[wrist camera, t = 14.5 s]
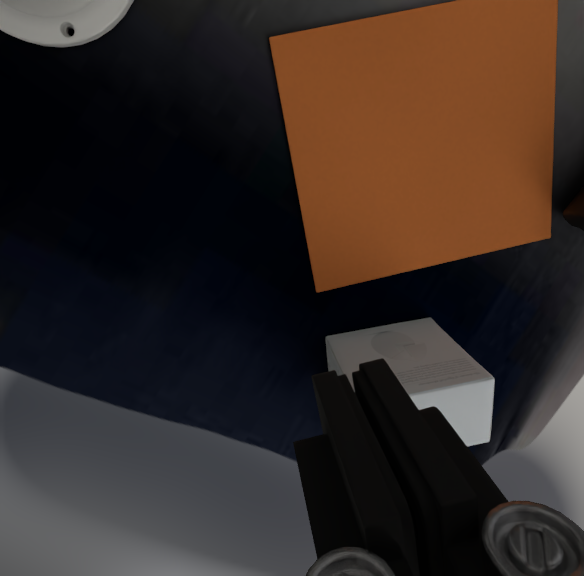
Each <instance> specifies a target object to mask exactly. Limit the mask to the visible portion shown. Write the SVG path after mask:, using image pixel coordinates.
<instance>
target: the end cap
mask: <svg viewBox="0 0 584 576" xmlns="http://www.w3.org/2000/svg"><path fill="white" fill-rule="evenodd" d="M563 217H564V218H565V220H566V221H567V222H568V223H569V224H571V225H572V226H575V227H579V228H581V229H582V230H583V231H584V186H583V187H582V188H581V190H580V191H579V192H578V194H577V195H576V196H575V197H574V199H573V200H572V201H571V202H570V204H569V205H568V206H567V208H566V209H565V210H564V211H563Z"/></svg>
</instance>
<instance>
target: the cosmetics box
mask: <svg viewBox="0 0 584 576" xmlns="http://www.w3.org/2000/svg"><path fill="white" fill-rule="evenodd" d="M325 340H326V350H327V360H328V370H329V371H332V370H335V371H336V373H337V375H338V376H339V375H343V374H346V375H347V377H348V380H349V382H350V384H351V386H352V388H353V390H354V384H353V378H352V372H355V371H359V364H361V363H365V362H369V361H373V360H377V359H381V358H383V359H384V360H385V361H386V362H387V364H388V365H389V367H390V368H391V370H392V371H393V373H394V374H395V376H396V377H397V379H398V380H399V382H400V383H401V385H402V386H403V388H404V389H405V390H406V392H407V393H408V395H409V396H410V398H411V399H412V401H413V402H414V404H415V405H416V407H417V408H418V410H421V409H425V408H429V407H432V406H434V407H437V408H438V409H439V410H440V411H441V413H442V414H443V415H444V417H445V418H446V419H447V421H448V422H449V423H450V425H451V426H452V427H453V429H454V430H455V431H456V433H457V434H458V435H459V437H460V438H461V439H462V441H463V442H464V443H465V445H466V446H471V445H476V444H481V443H486V442H489V441H490V435H491V423H492V410H493V395H494V381H495V380H494V378H493V376H492V375H491V374H490V373H488V372H487V371H486V370H485V369H484V368H483V367H482V366H481V365H480V364H478V363H477V362H476V361H475V360H474V359H473V358H472V357H471V356H470V355H469V354H468V353H467V352H466V351H464V350H463V349H462V348H461V347H460V346H459V345H458V344H457V343H456V342H455V341H454V340H453V339H452V338H451V337H450V336H449V335H448V334H447V333H446V332H444V331H443V330H442V329H441V328H440V327H439V326H438V325H437V324H436V323H435V321H434V320H433V319H432V318H431V317H429V318H424V319H418V320H412V321H406V322H401V323H395V324H390V325H384V326H379V327H373V328H368V329H363V330H357V331H352V332H347V333H341V334H336V335H330V336H326V339H325ZM354 392H355V390H354Z"/></svg>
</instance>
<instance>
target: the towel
mask: <svg viewBox="0 0 584 576" xmlns="http://www.w3.org/2000/svg"><path fill="white" fill-rule="evenodd" d="M557 13H558V0H456V1H451V2H446V3H441V4H436V5H431V6H426V7H421V8H416V9H411V10H406V11H400V12H395V13H390V14H385V15H380V16H375V17H370V18H365V19H360V20H355V21H350V22H345V23H339V24H334V25H329V26H324V27H319V28H314V29H309V30H304V31H299V32H294V33H289V34H284V35H278V36H273V37H269V42H270V47H271V53H272V58H273V64H274V69H275V74H276V80H277V85H278V90H279V96H280V101H281V106H282V112H283V117H284V122H285V128H286V133H287V138H288V144H289V149H290V155H291V160H292V165H293V171H294V176H295V181H296V187H297V192H298V197H299V203H300V208H301V213H302V219H303V224H304V230H305V235H306V240H307V246H308V251H309V256H310V262H311V267H312V272H313V278H314V283H315V288H316V292H322V291H326V290H330V289H334V288H339V287H343V286H347V285H351V284H356V283H360V282H364V281H368V280H373V279H377V278H381V277H385V276H390V275H394V274H398V273H402V272H407V271H411V270H415V269H419V268H424V267H428V266H432V265H436V264H441V263H445V262H449V261H453V260H458V259H462V258H466V257H470V256H475V255H479V254H483V253H487V252H492V251H496V250H500V249H504V248H509V247H513V246H517V245H521V244H526V243H530V242H534V241H538V240H543V239H547V238H551V207H552V174H553V142H554V110H555V77H556V45H557Z"/></svg>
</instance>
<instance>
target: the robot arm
mask: <svg viewBox="0 0 584 576" xmlns="http://www.w3.org/2000/svg"><path fill="white" fill-rule="evenodd" d="M133 1H134V0H0V30H2V31H4V32H6V33H7V34H9V35H12V36H14V37H16V38H19V39H21V40H23V41H27V42H31V43H34V44H38V45H42V46H50V47H69V46H77V45H82V44H85V43H87V42H90V41H93V40H95V39H98V38H99V37H101V36H102V35H104V34H105V33H107V32H108V31H110V30H111V29H113V28H114V27H115V25H116V24H117V23H118V22H119V21H120V20H121V19H122V18H123V17H124V16H125V14H126V13H127V11H128V9H129V8H130V6H131V4H132V3H133ZM70 28H73V29H74V31H75V33H74V35H73V36H70V35H69V34H68V31H69V29H70ZM352 378H353V384H354V390H355V392H354V390H353V388H352V386H351V384H350V382H349V380H348V377H347V375H346V374H343V375H339V376H338V375H337V373H336V371H335V370H332V371H328V372H324V373H320V374H316V375H312V381H313V386H314V391H315V396H316V400H317V405H318V410H319V415H320V420H321V425H322V429H323V435H319V436H315V437H311V438H308V439H304V440H300V441H296V442H293V443H294V449H295V453H296V458H297V463H298V467H299V472H300V477H301V482H302V487H303V492H304V497H305V501H306V506H307V511H308V516H309V520H310V525H311V530H312V535H313V539H314V544H315V549H316V554H317V560H316V562H315V563H314V564H313V565H312V566H311V567H310V569H309V570H308V572H307V574H306V576H584V531H583V530H582V529H581V528H580V527H579V526H578V525H576V524H575V523H574V522H573V521H571V520H570V519H569V518H567V517H566V516H565V515H563V514H562V513H561V512H559V511H556V510H554V509H552V508H550V507H548V506H546V505H543V504H539V503H534V502H530V501H511V502H508V500H507V499H506V498H505V497H504V495H503V494H502V493H501V491H500V490H499V488H498V487H497V486H496V484H495V483H494V482H493V481H492V479H491V478H490V476H489V475H488V474H487V473H486V471H485V470H484V469H483V467H482V466H481V465H480V463H479V462H478V461H477V459H476V458H475V457H474V455H473V454H472V453H471V451H470V450H469V449H468V447H467V446H466V445H465V443H464V442H463V441H462V439H461V438H460V437H459V435H458V434H457V433H456V431H455V430H454V429H453V427H452V426H451V425H450V423H449V422H448V421H447V419H446V418H445V417H444V415H443V414H442V413H441V411H440V410H439V409H438V408H437V407H434V406H432V407H429V408H425V409H421V410H418V408H417V407H416V405H415V404H414V402H413V401H412V399H411V398H410V396H409V395H408V393H407V392H406V390H405V389H404V388H403V386H402V385H401V383H400V382H399V380H398V379H397V377H396V376H395V374H394V373H393V371H392V370H391V368H390V367H389V365H388V364H387V362H386V361H385V360H384V359H383V358H381V359H377V360H373V361H369V362H365V363H361V364H359V371H355V372H352Z"/></svg>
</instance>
